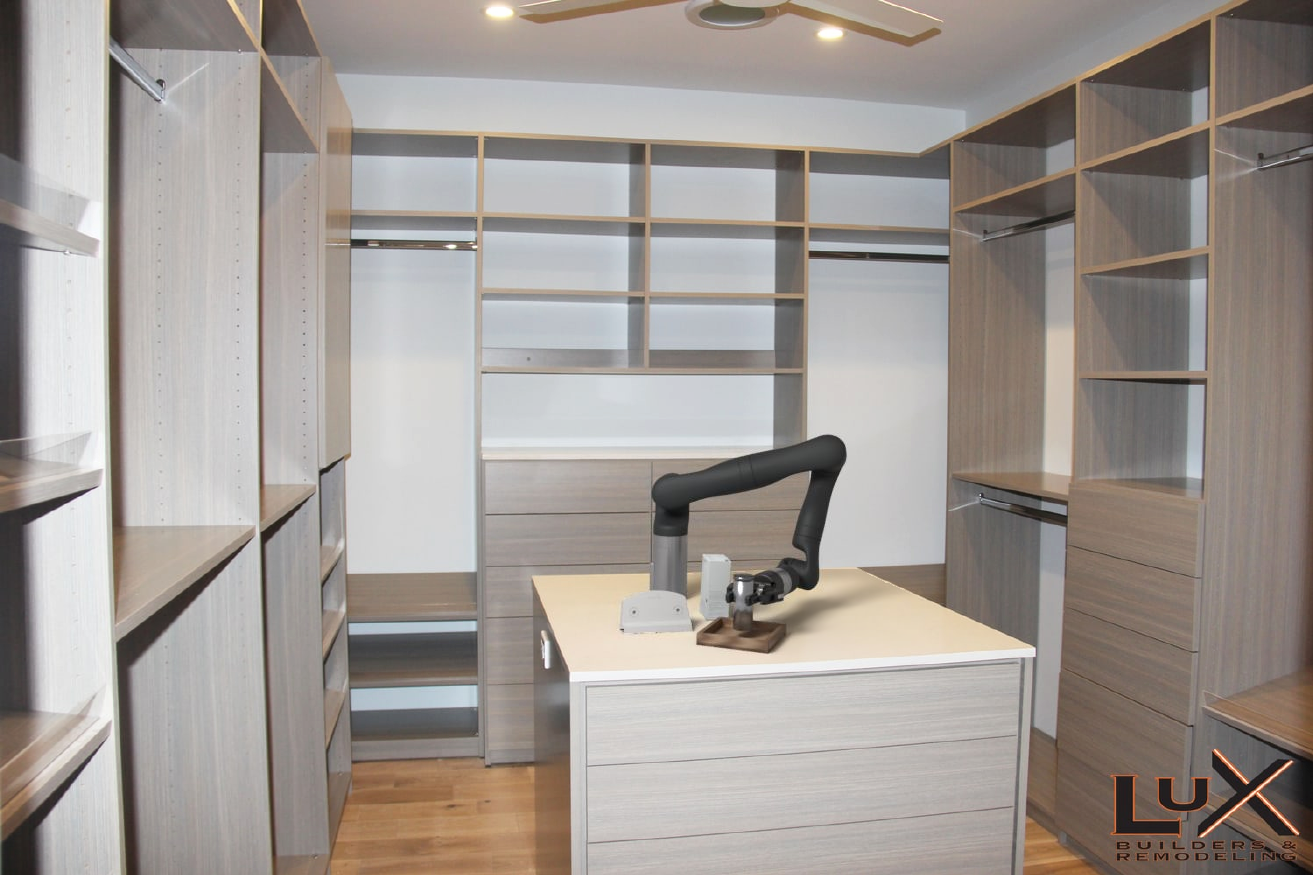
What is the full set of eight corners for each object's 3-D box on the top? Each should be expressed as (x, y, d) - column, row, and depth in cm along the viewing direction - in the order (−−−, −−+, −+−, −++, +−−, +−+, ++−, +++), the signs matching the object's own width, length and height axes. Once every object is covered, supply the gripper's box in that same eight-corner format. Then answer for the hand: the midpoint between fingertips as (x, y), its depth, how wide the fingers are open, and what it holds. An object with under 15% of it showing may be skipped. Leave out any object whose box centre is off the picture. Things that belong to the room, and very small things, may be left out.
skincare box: (699, 612, 226) (700, 553, 225) (722, 611, 227) (723, 553, 226) (706, 621, 218) (707, 559, 217) (730, 620, 219) (732, 559, 218)
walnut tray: (696, 644, 198) (696, 633, 198) (719, 626, 213) (719, 616, 213) (767, 653, 192) (767, 641, 192) (785, 634, 207) (785, 623, 207)
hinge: (623, 634, 205) (620, 590, 208) (619, 636, 209) (616, 593, 212) (694, 631, 209) (690, 587, 212) (688, 632, 213) (685, 590, 216)
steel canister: (728, 629, 202) (729, 576, 201) (738, 624, 205) (738, 572, 205) (747, 632, 199) (748, 578, 198) (756, 627, 203) (757, 574, 202)
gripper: (743, 566, 218) (709, 579, 203) (798, 573, 210) (767, 587, 195) (743, 597, 218) (709, 612, 203) (798, 605, 210) (766, 621, 196)
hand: (737, 600), depth 200 cm, fingers closed on steel canister, 4 cm apart
